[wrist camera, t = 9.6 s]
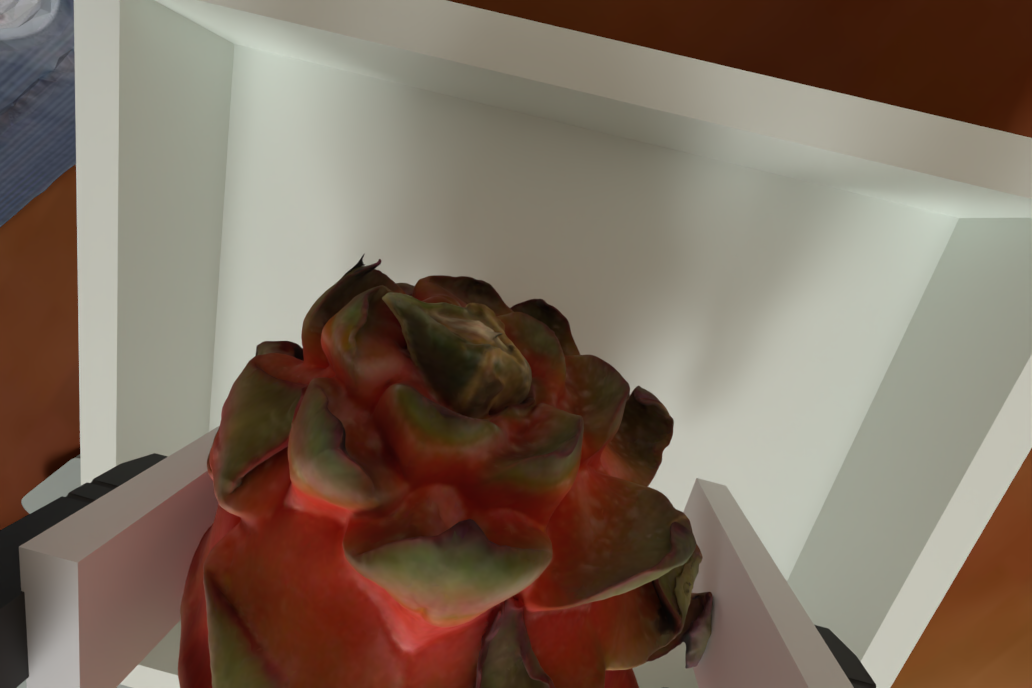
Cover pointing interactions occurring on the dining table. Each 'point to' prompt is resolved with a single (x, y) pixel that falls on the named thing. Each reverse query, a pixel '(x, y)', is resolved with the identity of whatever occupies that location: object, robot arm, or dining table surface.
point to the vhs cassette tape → (35, 98)
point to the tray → (575, 261)
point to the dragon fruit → (437, 506)
